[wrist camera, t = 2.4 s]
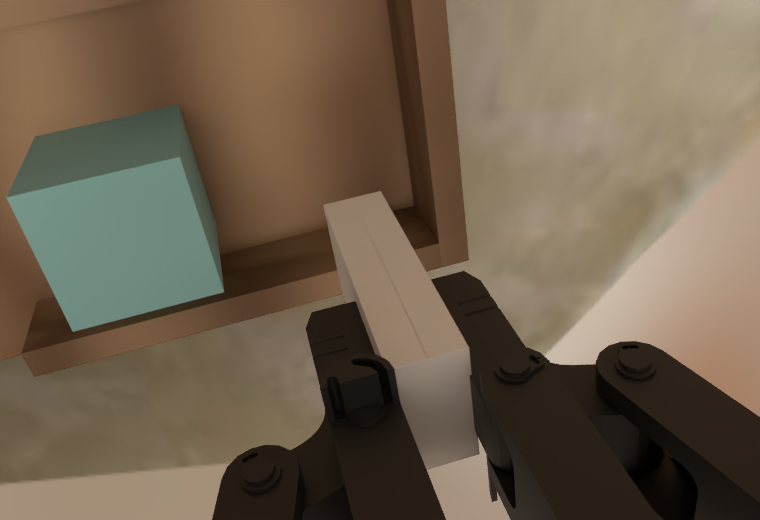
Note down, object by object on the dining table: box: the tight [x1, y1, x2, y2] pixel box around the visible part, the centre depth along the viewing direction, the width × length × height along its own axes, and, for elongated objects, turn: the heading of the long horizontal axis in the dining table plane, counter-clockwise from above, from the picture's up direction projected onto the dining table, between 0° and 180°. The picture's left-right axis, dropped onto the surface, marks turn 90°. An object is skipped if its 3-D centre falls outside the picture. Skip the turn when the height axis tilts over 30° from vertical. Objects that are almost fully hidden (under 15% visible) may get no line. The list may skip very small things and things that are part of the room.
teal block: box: [6, 104, 224, 332], centre depth 21 cm, size 4×4×4 cm
